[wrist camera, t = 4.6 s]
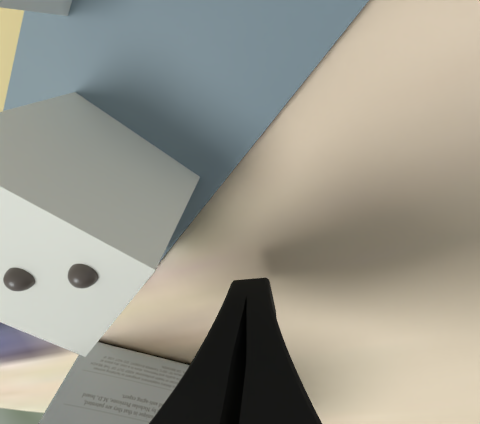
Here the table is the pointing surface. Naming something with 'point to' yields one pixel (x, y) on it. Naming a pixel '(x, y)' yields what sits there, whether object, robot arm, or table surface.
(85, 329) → the die
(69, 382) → the supplement box
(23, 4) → the collar
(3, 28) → the board
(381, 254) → the table surface
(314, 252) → the table surface
